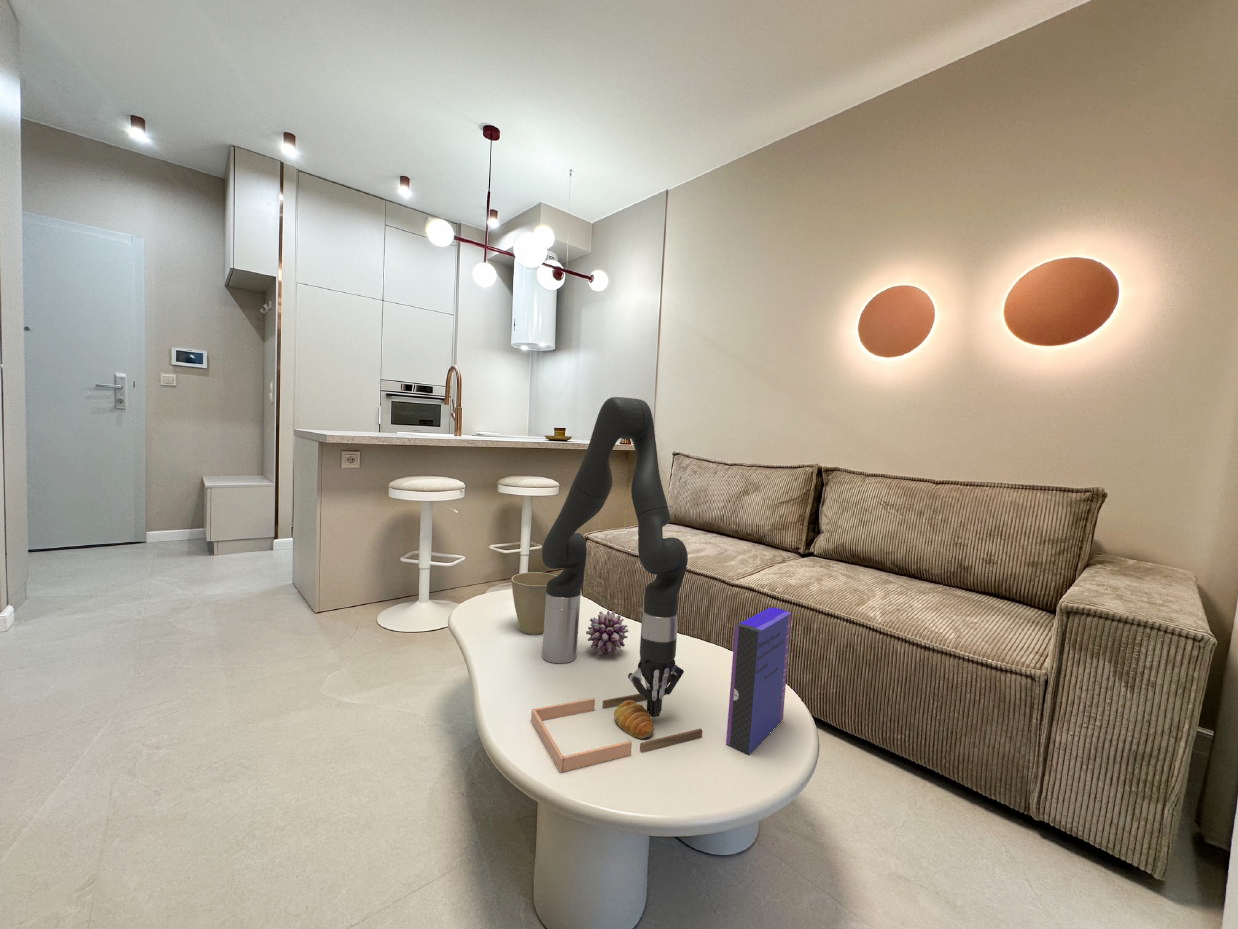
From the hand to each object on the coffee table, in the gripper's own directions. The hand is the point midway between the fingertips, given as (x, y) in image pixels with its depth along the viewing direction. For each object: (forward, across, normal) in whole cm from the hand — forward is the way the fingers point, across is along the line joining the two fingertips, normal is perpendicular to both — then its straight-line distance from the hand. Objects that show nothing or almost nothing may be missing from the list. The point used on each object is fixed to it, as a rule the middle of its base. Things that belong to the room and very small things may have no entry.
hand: (653, 715), depth 103 cm
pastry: (+2, +4, 0) cm, 5 cm away
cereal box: (+2, -18, +11) cm, 21 cm away
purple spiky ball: (+1, -6, -34) cm, 35 cm away
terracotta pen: (+1, +17, 0) cm, 17 cm away
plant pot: (+1, +8, -56) cm, 57 cm away
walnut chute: (+1, +1, 0) cm, 1 cm away
